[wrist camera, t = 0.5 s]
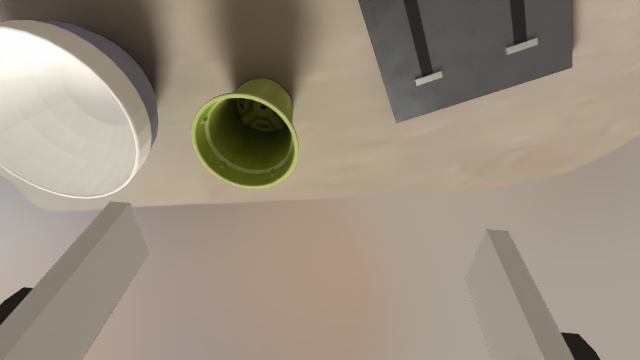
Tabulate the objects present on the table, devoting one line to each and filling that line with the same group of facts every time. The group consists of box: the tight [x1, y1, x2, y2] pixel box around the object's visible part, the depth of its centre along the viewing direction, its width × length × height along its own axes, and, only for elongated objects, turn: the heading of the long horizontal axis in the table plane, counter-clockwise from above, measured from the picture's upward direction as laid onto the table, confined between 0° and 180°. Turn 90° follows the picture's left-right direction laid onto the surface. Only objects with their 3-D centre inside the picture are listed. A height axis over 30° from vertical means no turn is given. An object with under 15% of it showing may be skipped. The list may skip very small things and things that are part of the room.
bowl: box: [0, 20, 158, 198], centre depth 33 cm, size 16×16×10 cm
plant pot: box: [191, 78, 299, 189], centre depth 34 cm, size 9×9×9 cm
